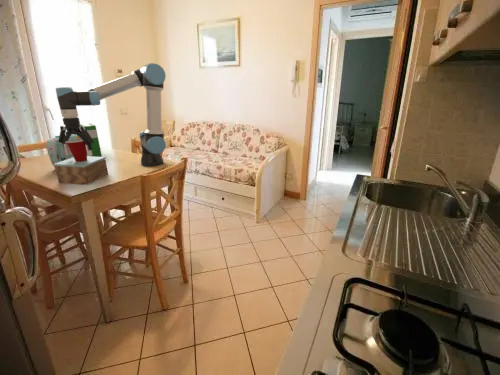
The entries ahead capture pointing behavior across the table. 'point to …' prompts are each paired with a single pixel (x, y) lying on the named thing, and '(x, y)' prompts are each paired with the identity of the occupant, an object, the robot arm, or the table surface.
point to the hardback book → (93, 133)
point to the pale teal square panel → (73, 163)
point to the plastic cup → (78, 149)
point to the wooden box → (82, 173)
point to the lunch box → (58, 149)
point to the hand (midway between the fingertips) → (79, 155)
